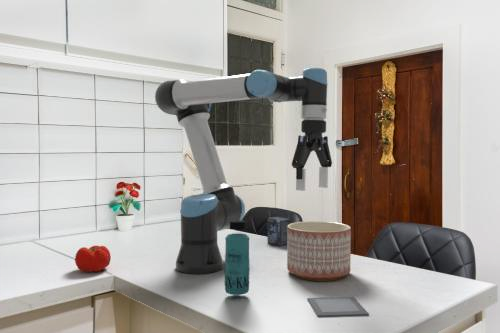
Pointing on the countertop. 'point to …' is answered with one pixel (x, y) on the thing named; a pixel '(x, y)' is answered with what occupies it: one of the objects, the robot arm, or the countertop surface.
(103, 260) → the tomato
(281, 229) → the box
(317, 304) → the slate mat
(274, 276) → the countertop surface
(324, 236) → the planter
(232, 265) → the beverage bottle
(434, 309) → the countertop surface
